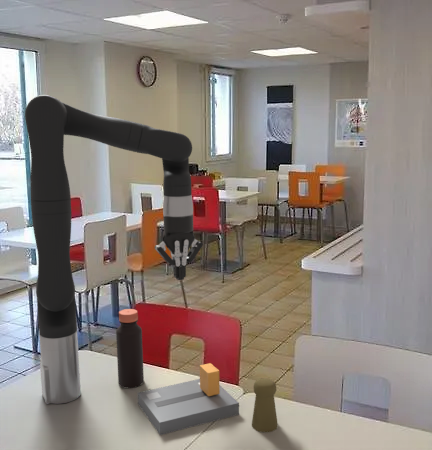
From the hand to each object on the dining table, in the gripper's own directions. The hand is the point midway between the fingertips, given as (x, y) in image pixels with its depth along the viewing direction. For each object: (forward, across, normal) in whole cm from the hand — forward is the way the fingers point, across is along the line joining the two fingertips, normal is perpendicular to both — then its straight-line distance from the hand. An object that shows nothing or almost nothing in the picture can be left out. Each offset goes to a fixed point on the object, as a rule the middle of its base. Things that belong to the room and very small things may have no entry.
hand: (179, 279), depth 147 cm
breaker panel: (+29, +4, +13) cm, 32 cm away
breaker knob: (+26, -2, +13) cm, 29 cm away
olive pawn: (+29, -9, +28) cm, 41 cm away
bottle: (+29, +12, -7) cm, 32 cm away
